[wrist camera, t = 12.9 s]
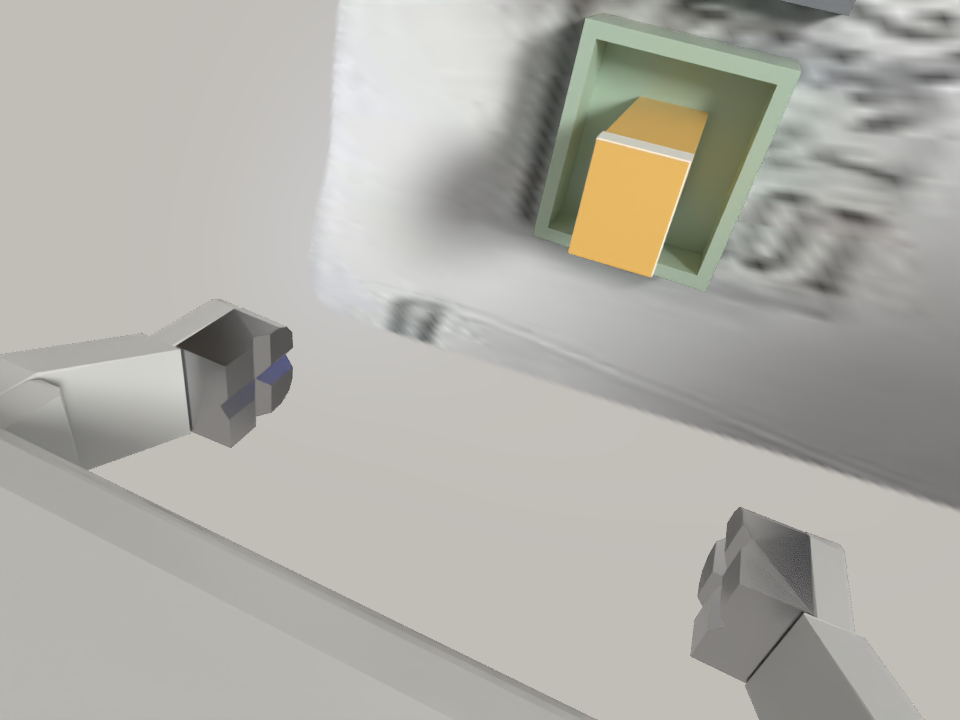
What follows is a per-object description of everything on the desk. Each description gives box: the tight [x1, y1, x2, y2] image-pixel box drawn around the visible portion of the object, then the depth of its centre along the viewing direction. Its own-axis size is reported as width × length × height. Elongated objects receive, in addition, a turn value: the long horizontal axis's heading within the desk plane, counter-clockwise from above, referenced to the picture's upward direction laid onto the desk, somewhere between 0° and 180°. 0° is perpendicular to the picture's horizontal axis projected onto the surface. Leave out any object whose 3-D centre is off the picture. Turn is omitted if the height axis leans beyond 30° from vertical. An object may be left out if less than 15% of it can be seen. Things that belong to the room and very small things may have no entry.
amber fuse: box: [568, 96, 709, 277], centre depth 25 cm, size 3×4×9 cm
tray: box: [533, 13, 802, 292], centre depth 28 cm, size 8×9×3 cm
